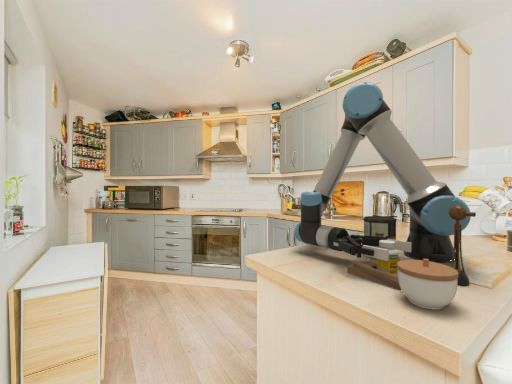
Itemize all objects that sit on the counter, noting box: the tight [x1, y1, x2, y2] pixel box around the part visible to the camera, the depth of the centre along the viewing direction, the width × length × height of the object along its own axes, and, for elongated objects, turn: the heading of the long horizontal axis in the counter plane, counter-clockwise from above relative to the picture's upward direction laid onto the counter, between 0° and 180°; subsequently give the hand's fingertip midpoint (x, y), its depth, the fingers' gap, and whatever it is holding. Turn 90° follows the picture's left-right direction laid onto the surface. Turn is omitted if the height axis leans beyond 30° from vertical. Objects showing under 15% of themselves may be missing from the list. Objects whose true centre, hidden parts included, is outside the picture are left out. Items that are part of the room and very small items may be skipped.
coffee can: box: [362, 216, 397, 260], centre depth 85 cm, size 10×10×14 cm
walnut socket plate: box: [346, 258, 402, 292], centre depth 68 cm, size 15×15×2 cm
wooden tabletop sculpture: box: [449, 205, 477, 287], centre depth 62 cm, size 6×5×20 cm
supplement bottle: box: [377, 240, 399, 274], centre depth 68 cm, size 5×5×10 cm
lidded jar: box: [397, 259, 458, 311], centre depth 52 cm, size 11×11×9 cm
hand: (400, 251), depth 66 cm, fingers open, 13 cm apart
